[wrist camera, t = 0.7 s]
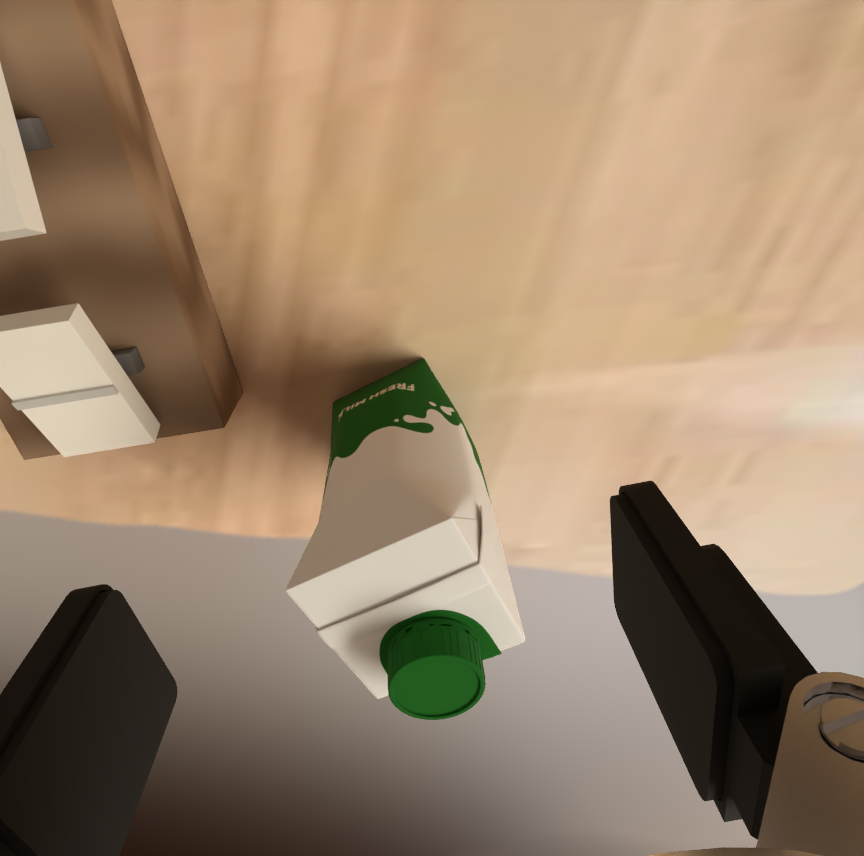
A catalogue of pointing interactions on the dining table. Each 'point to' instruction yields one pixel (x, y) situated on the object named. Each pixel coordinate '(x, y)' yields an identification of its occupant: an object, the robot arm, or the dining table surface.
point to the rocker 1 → (15, 178)
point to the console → (106, 219)
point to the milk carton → (408, 550)
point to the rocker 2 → (71, 382)
